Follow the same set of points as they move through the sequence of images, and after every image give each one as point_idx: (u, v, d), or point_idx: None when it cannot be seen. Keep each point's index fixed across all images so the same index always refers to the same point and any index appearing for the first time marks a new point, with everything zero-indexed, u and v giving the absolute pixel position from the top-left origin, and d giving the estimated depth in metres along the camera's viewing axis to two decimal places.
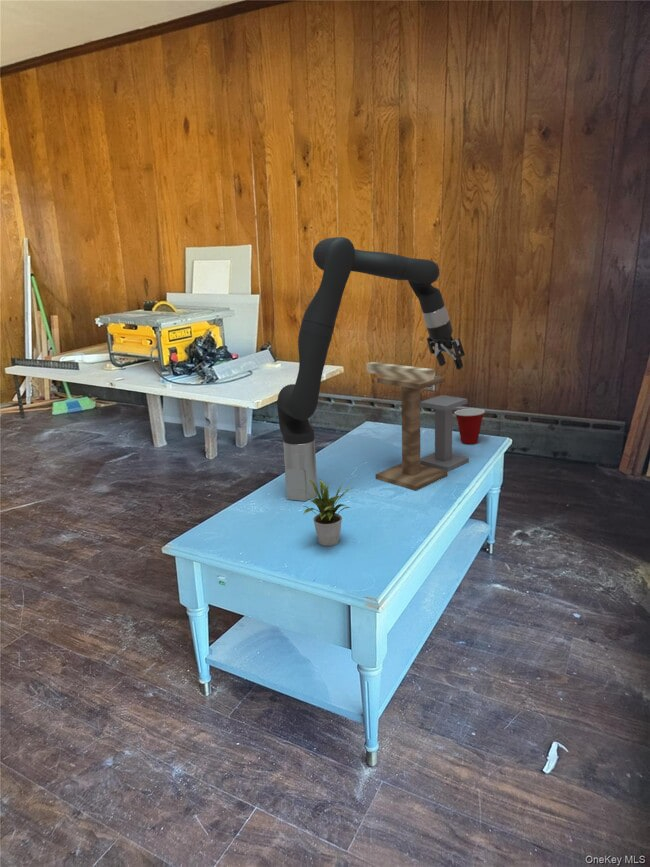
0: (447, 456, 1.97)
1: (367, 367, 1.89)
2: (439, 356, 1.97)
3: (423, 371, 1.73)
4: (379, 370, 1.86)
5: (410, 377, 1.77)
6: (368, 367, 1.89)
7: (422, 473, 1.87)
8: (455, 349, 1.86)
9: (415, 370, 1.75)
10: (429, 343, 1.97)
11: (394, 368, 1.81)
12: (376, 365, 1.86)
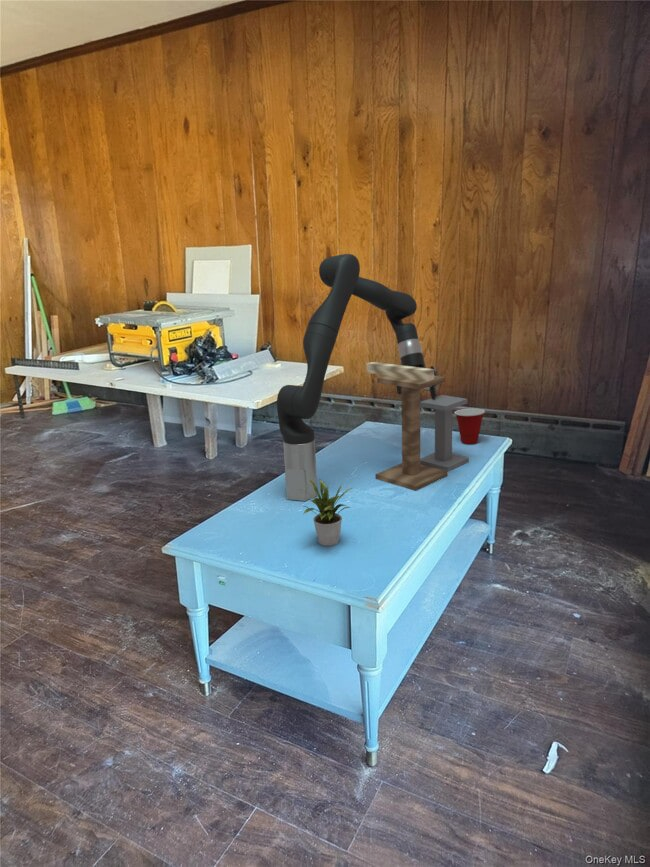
0: (447, 456, 1.97)
1: (367, 367, 1.89)
2: None
3: (423, 371, 1.73)
4: (379, 370, 1.86)
5: (410, 377, 1.77)
6: (368, 367, 1.89)
7: (422, 473, 1.87)
8: None
9: (415, 370, 1.75)
10: None
11: (394, 368, 1.81)
12: (376, 365, 1.86)
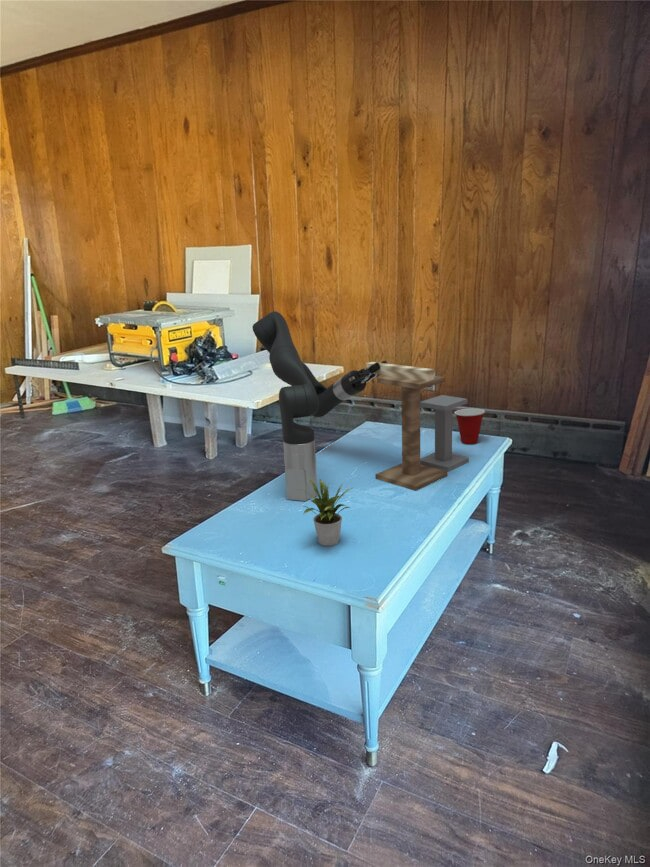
0: (447, 456, 1.97)
1: None
2: None
3: (423, 371, 1.73)
4: (379, 370, 1.86)
5: (410, 377, 1.77)
6: None
7: (422, 473, 1.87)
8: None
9: (415, 370, 1.75)
10: None
11: (394, 368, 1.81)
12: None
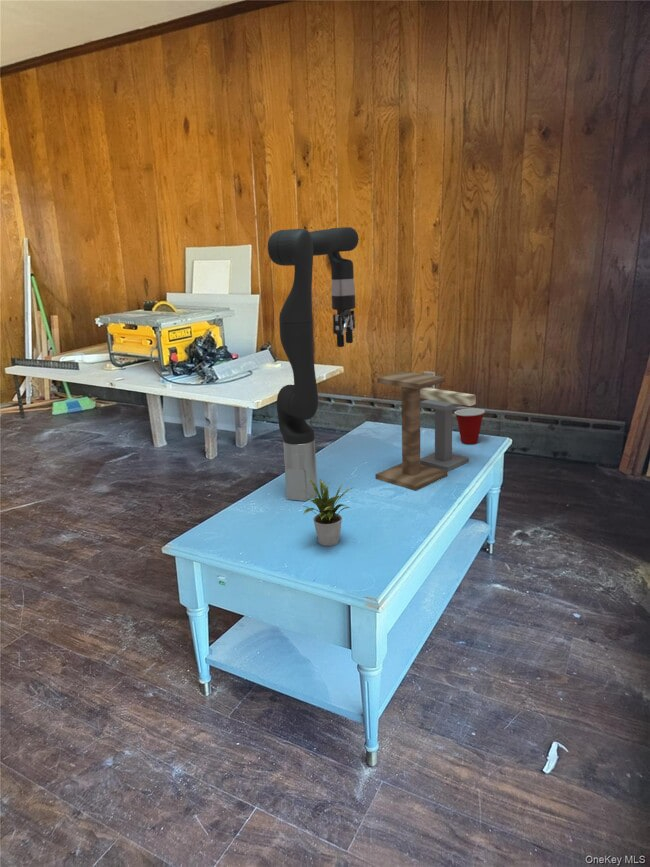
0: (447, 456, 1.97)
1: None
2: None
3: (465, 397, 1.85)
4: (422, 394, 1.97)
5: (452, 402, 1.89)
6: None
7: (422, 473, 1.87)
8: (354, 318, 1.97)
9: (458, 395, 1.87)
10: (341, 320, 1.86)
11: (437, 393, 1.93)
12: None
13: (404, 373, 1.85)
